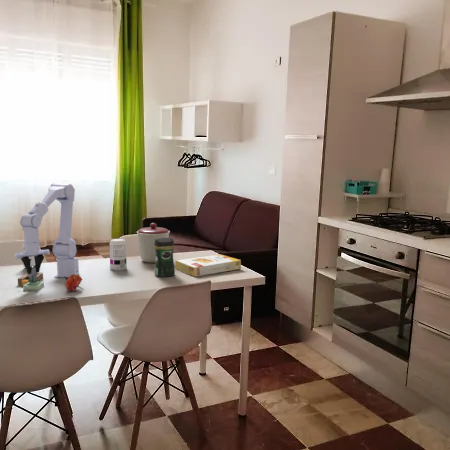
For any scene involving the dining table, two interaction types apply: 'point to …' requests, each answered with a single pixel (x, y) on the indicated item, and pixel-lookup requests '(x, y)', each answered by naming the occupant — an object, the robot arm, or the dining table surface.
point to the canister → (150, 241)
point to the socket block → (26, 277)
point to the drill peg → (33, 274)
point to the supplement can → (118, 254)
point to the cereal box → (208, 265)
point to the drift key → (24, 282)
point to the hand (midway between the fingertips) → (33, 272)
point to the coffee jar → (164, 257)
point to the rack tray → (33, 286)
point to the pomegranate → (72, 282)
